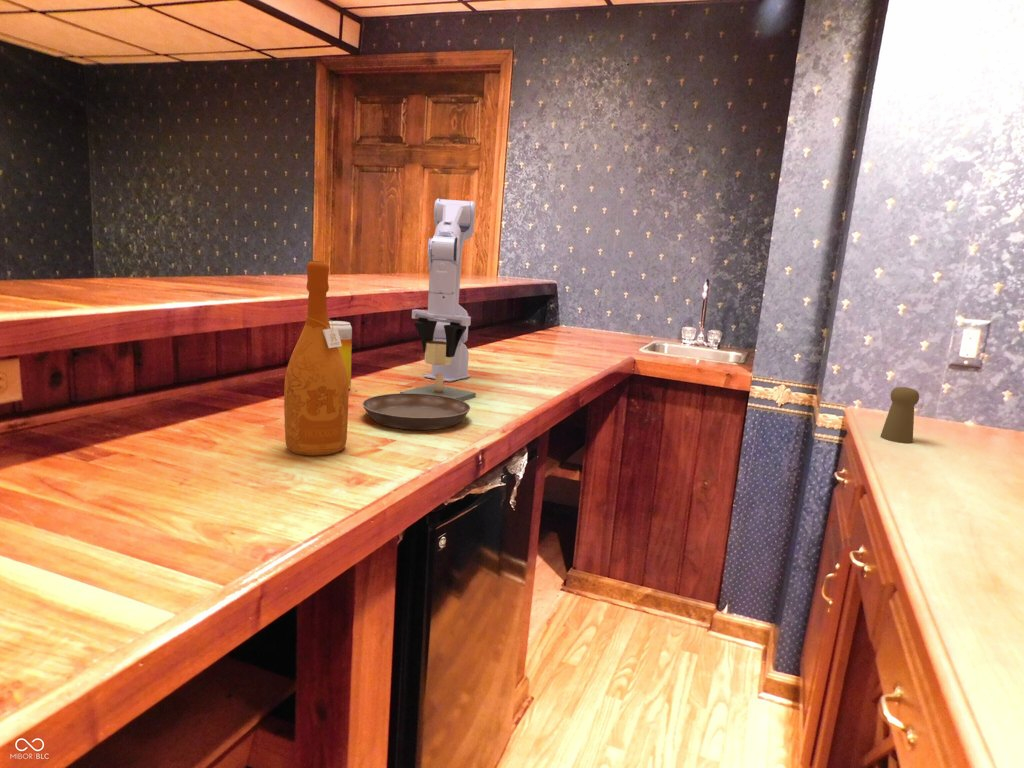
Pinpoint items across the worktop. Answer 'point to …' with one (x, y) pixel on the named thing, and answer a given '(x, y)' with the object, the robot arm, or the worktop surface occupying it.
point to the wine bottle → (316, 378)
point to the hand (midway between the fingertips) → (438, 354)
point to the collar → (436, 353)
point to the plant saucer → (416, 410)
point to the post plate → (442, 390)
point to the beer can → (345, 344)
